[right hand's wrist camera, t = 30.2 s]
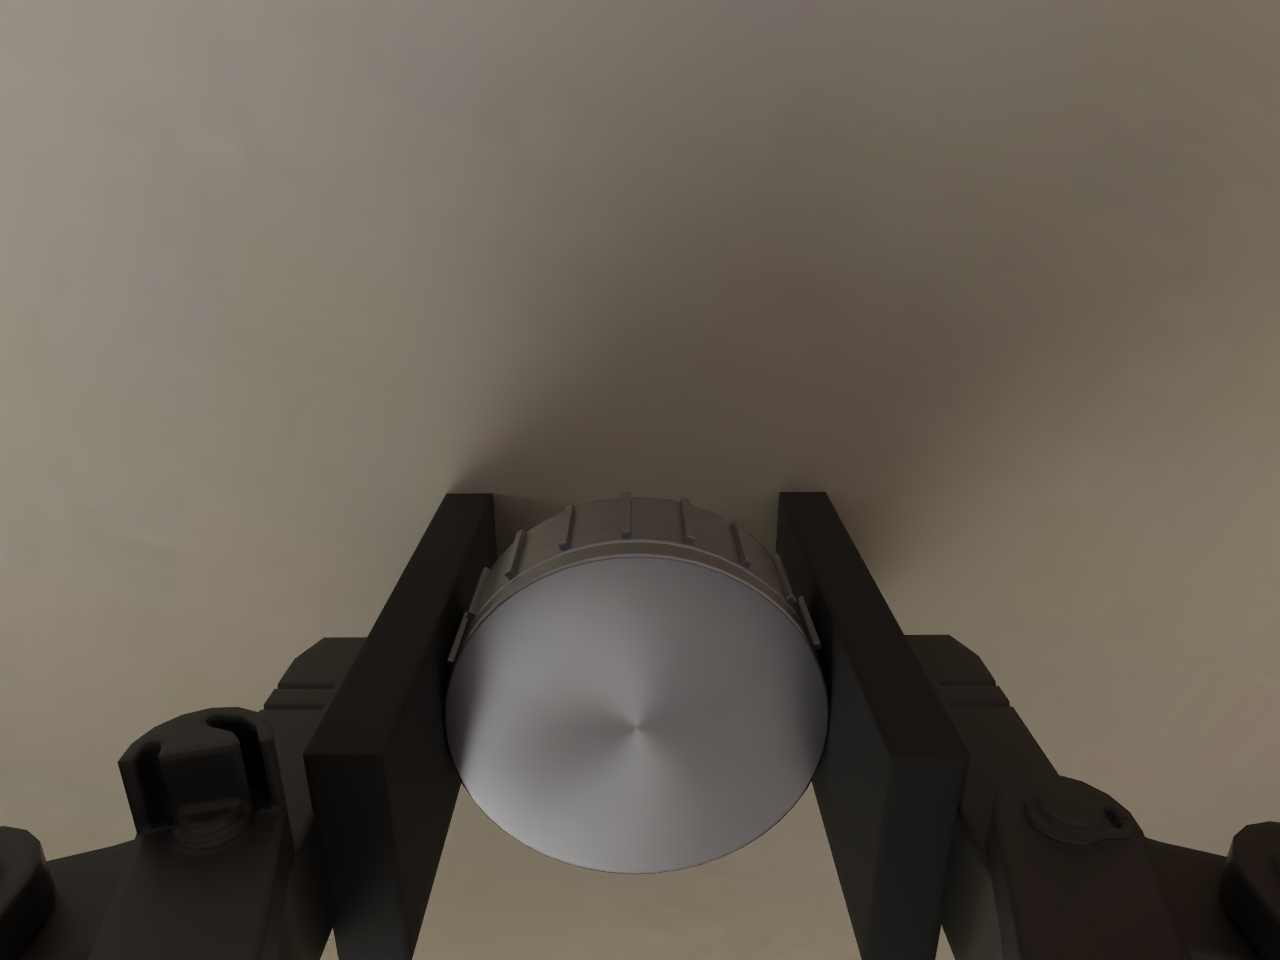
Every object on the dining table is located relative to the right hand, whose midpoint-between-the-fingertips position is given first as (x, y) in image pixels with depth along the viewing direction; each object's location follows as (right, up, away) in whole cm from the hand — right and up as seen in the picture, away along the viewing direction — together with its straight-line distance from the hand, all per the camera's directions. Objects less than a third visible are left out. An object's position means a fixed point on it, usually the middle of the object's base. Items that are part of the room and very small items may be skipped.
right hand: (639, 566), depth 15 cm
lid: (0, -1, -4) cm, 4 cm away
